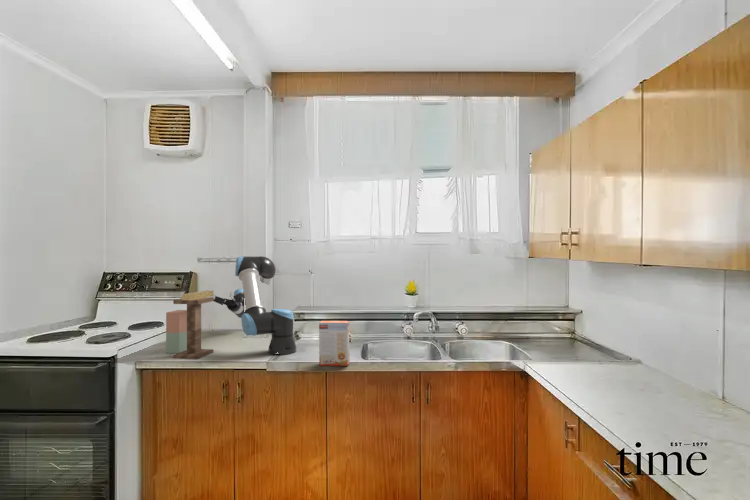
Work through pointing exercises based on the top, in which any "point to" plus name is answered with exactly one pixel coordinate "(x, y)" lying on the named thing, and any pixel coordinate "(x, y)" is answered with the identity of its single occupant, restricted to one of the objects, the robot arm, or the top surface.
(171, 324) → the top block
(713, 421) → the top surface
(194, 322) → the wooden stand
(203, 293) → the brass bar
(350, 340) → the architectural model
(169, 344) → the bottom block
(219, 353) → the top surface
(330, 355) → the cracker box
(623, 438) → the top surface
